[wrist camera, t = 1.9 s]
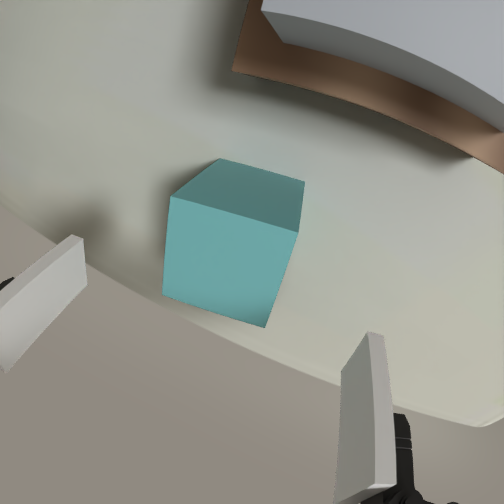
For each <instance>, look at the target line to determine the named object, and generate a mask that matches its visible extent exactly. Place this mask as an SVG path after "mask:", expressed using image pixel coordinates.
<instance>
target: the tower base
mask: <svg viewBox="0 0 504 504" xmlns="http://www.w3.org/2000/svg"><path fill="white" fill-rule="evenodd" d="M262 4H263V0H249V2H248V6H247V10H246V14H245V17H244V21H243V25H242V29H241V33H240V37H239V41H238V45H237V49H236V53H235V57H234V61H233V65H232V70H231V71H234V72H238V73H242V74H246V75H250V76H254V77H259V78H263V79H268V80H272V81H277V82H281V83H285V84H289V85H293V86H297V87H300V88H304V89H308V90H311V91H315V92H318V93H322V94H325V95H328V96H331V97H335V98H338V99H341V100H344V101H347V102H350V103H353V104H356V105H359V106H361V107H364V108H367V109H370V110H372V111H375V112H378V113H380V114H383V115H385V116H388V117H390V118H393V119H395V120H398V121H400V122H402V123H405V124H407V125H409V126H412V127H414V128H416V129H418V130H421V131H423V132H425V133H427V134H429V135H431V136H433V137H436V138H438V139H440V140H442V141H444V142H446V143H448V144H450V145H452V146H454V147H455V148H457V149H459V150H461V151H463V152H465V153H467V154H469V155H470V156H472V157H474V158H476V159H478V160H480V161H481V162H483V163H485V164H487V165H489V166H490V167H492V168H494V169H496V170H497V171H499V172H501V173H502V174H504V133H503V132H501V131H500V130H498V129H497V128H495V127H493V126H492V125H490V124H489V123H487V122H485V121H484V120H482V119H480V118H479V117H477V116H475V115H474V114H472V113H470V112H468V111H467V110H465V109H463V108H461V107H459V106H457V105H456V104H454V103H452V102H450V101H448V100H446V99H444V98H442V97H440V96H438V95H436V94H434V93H432V92H430V91H428V90H425V89H423V88H421V87H419V86H417V85H414V84H412V83H410V82H407V81H405V80H403V79H400V78H398V77H395V76H393V75H390V74H388V73H385V72H383V71H380V70H377V69H375V68H372V67H369V66H366V65H363V64H360V63H357V62H354V61H351V60H348V59H345V58H342V57H338V56H335V55H331V54H328V53H324V52H321V51H317V50H313V49H309V48H305V47H301V46H296V45H292V44H287V43H283V42H282V40H281V39H280V37H279V36H278V34H277V33H276V31H275V30H274V28H273V27H272V25H271V24H270V22H269V21H268V20H267V18H266V17H265V15H264V14H263V13H262V11H261V8H262Z"/></svg>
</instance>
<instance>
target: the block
mask: <svg viewBox="0 0 504 504" xmlns="http://www.w3.org/2000/svg"><path fill="white" fill-rule="evenodd" d="M304 185H305V182H304V181H301V180H297V179H294V178H291V177H287V176H284V175H280V174H277V173H273V172H270V171H266V170H263V169H259V168H255V167H252V166H248V165H244V164H240V163H236V162H232V161H229V160H225V159H218V160H217V161H215V162H214V163H213V164H211V165H210V166H209V167H207V168H206V169H205V170H203V171H202V172H201V173H199V174H198V175H197V176H196V177H194V178H193V179H192V180H190V181H189V182H188V183H186V184H185V185H184V186H183V187H181V188H180V189H179V190H178V191H176V192H175V193H174V194H172V195H171V196H170V205H169V214H168V223H167V234H166V245H165V257H164V271H163V287H162V295H164V296H167V297H170V298H172V299H175V300H178V301H181V302H184V303H187V304H190V305H193V306H196V307H199V308H202V309H205V310H208V311H211V312H214V313H217V314H220V315H223V316H227V317H230V318H233V319H236V320H239V321H243V322H246V323H249V324H253V325H256V326H259V327H263V328H265V326H266V323H267V321H268V318H269V315H270V312H271V310H272V307H273V304H274V301H275V299H276V296H277V293H278V290H279V287H280V284H281V282H282V279H283V276H284V273H285V270H286V267H287V264H288V262H289V259H290V256H291V253H292V250H293V247H294V244H295V241H296V238H297V235H298V231H299V224H300V217H301V209H302V201H303V193H304Z"/></svg>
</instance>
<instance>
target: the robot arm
mask: <svg viewBox="0 0 504 504" xmlns="http://www.w3.org/2000/svg"><path fill="white" fill-rule="evenodd" d="M87 285H88V283H87V274H86V265H85V254H84V242H83V238H80V237H78V236H75V235H72V234H71V235H70V236H69V237H67V238H66V239H64V240H63V241H62V242H60V243H59V244H58V245H57V246H55V247H54V248H52V249H51V250H50V251H48V252H47V253H46V254H45V255H43V256H42V257H41V258H39V259H38V260H37V261H36V262H34V263H33V264H32V265H31V266H29V267H28V268H27V269H26V270H24V271H23V272H22V273H21V274H20V275H18V276H17V277H16V278H14V277H12V278H10V279H8V280H5V281H3V282H2V283H1V284H0V369H1V370H2V371H3V372H5V373H7V372H8V371H9V370H10V369H11V367H12V366H13V365H14V364H15V362H16V361H17V360H18V359H19V358H20V357H21V356H22V354H23V353H24V352H25V351H26V350H27V349H28V347H29V346H30V345H31V344H32V343H33V342H34V341H35V340H36V338H37V337H38V336H39V335H40V334H41V333H42V332H43V331H44V330H45V329H46V328H47V327H48V325H49V324H50V323H51V322H52V321H53V320H54V319H55V318H56V317H57V316H58V315H59V314H60V313H61V312H62V311H63V310H64V308H65V307H66V306H67V305H68V304H69V303H70V302H71V301H72V300H73V299H74V298H75V297H76V296H77V295H78V294H79V293H80V292H81V291H82V290H83V289H84V288H85V287H86V286H87ZM340 404H341V405H340V406H341V407H340V428H339V444H338V458H337V459H338V460H337V471H336V482H335V491H334V501H333V504H358V503H361V504H434V503H431V502H427V501H425V500H423V497H422V495H421V494H420V493H419V492H418V491H417V490H415V487H414V475H413V457H412V450H411V448H412V443H411V441H410V439H411V433H410V425H409V423H408V421H407V419H406V417H405V415H404V414H397V413H393V406H392V396H391V387H390V378H389V370H388V363H387V356H386V349H385V342H384V336H383V335H380V334H376V333H372V332H369V331H368V332H367V333H366V335H365V336H364V338H363V339H362V341H361V343H360V344H359V346H358V347H357V349H356V350H355V352H354V353H353V355H352V356H351V358H350V359H349V361H348V362H347V364H346V365H345V366H344V368H343V369H342V371H341V403H340ZM447 504H458V503H456V502H451V503H447Z"/></svg>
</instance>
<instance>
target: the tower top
mask: <svg viewBox="0 0 504 504" xmlns="http://www.w3.org/2000/svg"><path fill="white" fill-rule="evenodd" d="M261 11H262V13H263V14H264V15H265V17H266V18H267V20H268V21H269V22H270V24H271V25H272V27H273V28H274V30H275V31H276V33H277V34H278V36H279V37H280V39H281V40H282V42H283V43H287V44H292V45H296V46H301V47H305V48H309V49H313V50H317V51H321V52H324V53H328V54H331V55H335V56H338V57H342V58H345V59H348V60H351V61H354V62H357V63H360V64H363V65H366V66H369V67H372V68H375V69H377V70H380V71H383V72H385V73H388V74H390V75H393V76H395V77H398V78H400V79H403V80H405V81H407V82H410V83H412V84H414V85H417V86H419V87H421V88H423V89H425V90H428V91H430V92H432V93H434V94H436V95H438V96H440V97H442V98H444V99H446V100H448V101H450V102H452V103H454V104H456V105H457V106H459V107H461V108H463V109H465V110H467V111H468V112H470V113H472V114H474V115H475V116H477V117H479V118H480V119H482V120H484V121H485V122H487V123H489V124H490V125H492V126H493V127H495V128H497V129H498V130H500V131H501V132H503V133H504V0H263V4H262V8H261Z"/></svg>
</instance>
